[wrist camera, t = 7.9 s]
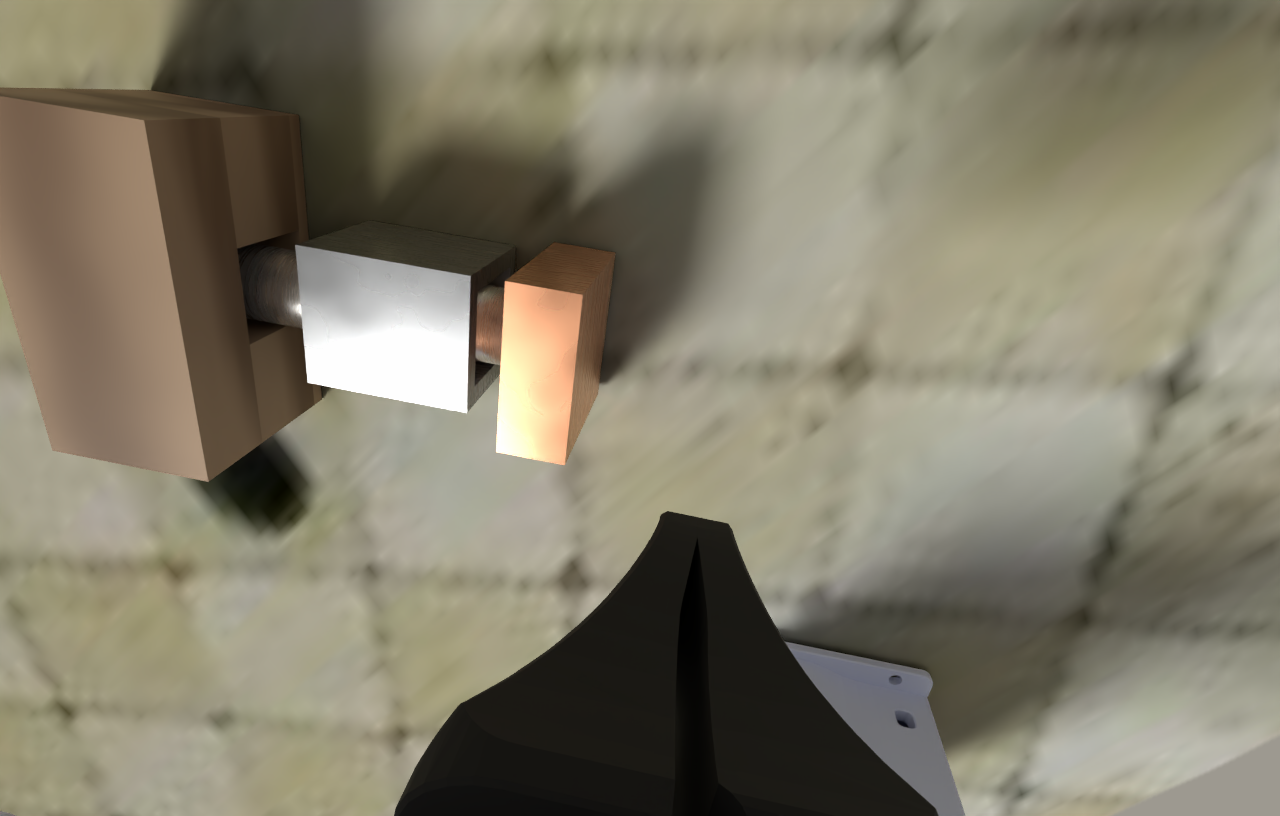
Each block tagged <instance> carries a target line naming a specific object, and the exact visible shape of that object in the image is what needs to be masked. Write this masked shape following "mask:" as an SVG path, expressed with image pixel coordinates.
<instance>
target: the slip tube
mask: <svg viewBox="0 0 1280 816" xmlns="http://www.w3.org/2000/svg"><path fill="white" fill-rule="evenodd" d="M237 251H238V259H239V266H240V274H241V282H242V289H243V297H244V305H245V312H246V318H248V319H253V320H259V321H264V322H270V323H275V324H280V325H286V326H291V327H297V328H302V329H303V326H302V315H301V304H300V293H299V282H298V271H297V260H296V251H294V250H289V249H283V248H278V247H272V246H266V245H261V244H255V243H254V244H250V245H247V246H244V247H240V248H237ZM614 261H615V253H614V252H608V251H602V250H597V249H591V248H585V247H579V246H574V245H568V244H562V243H556V242H554V243H553V244H551V245H550V246H549V247H547V248H546V249H545V250H544V251H542V252H541V253H540V254H539V255H537V256H536V257H535V258H534V259H532V260H531V261H530V262H528V263H527V264H526V265H525V266H523V267H522V268H521V269H520V270H518V271H517V272H516V273H515V274H513V275H512V276H511V277H509V278H508V279H507V280H506V281H505V288H502V287H496V286H491V285H486V286H484V287H483V288H482V289H480V290H479V291H478V297H477V327H476V358H475V361H480V362H486V363H491V364H496V365H501V368H500V387H499V407H498V426H497V446H496V452H499V453H504V454H509V455H515V456H520V457H525V458H530V459H535V460H541V461H546V462H551V463H556V464H561V465H565V463H566V461H567V459H568V457H569V455H570V453H571V451H572V448H573V446H574V444H575V442H576V440H577V438H578V435H579V433H580V431H581V429H582V427H583V425H584V423H585V420H586V418H587V416H588V414H589V412H590V410H591V408H592V405H593V403H594V401H595V399H596V397H597V395H598V389H599V381H600V373H601V365H602V357H603V349H604V341H605V333H606V325H607V317H608V309H609V301H610V293H611V285H612V277H613V269H614Z"/></svg>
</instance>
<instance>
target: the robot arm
mask: <svg viewBox="0 0 1280 816" xmlns="http://www.w3.org/2000/svg"><path fill="white" fill-rule="evenodd" d="M893 675H898V676H896V677H891V676H893ZM932 687H933V682H932V679H931V676H930V674H929V673H928V672H927V671H924V670H921V669H917V668H912V667H907V666H902V665H897V664H892V663H887V662H882V661H877V660H873V659H868V658H863V657H858V656H853V655H848V654H843V653H838V652H833V651H828V650H824V649H819V648H814V647H809V646H804V645H799V644H794V643H789V642H785V641H784V640H783V638H782V636H781V635H780V633H779V631H778V630H777V628H776V626H775V624H774V623H773V621H772V619H771V617H770V616H769V614H768V612H767V610H766V608H765V606H764V604H763V602H762V600H761V598H760V596H759V594H758V592H757V590H756V588H755V586H754V584H753V582H752V580H751V578H750V575H749V573H748V571H747V569H746V566H745V564H744V561H743V559H742V556H741V554H740V551H739V549H738V546H737V543H736V540H735V537H734V534H733V531H732V529H731V527H730V526H729V524H728V523H723V522H718V521H713V520H708V519H703V518H698V517H693V516H688V515H684V514H679V513H674V512H669V511H667V512H665V513H663V514H661V516H660V520H659V523H658V525H657V527H656V529H655V531H654V533H653V535H652V537H651V539H650V540H649V542H648V544H647V545H646V547H645V549H644V550H643V551H642V553H641V554H640V556H639V557H638V559H637V560H636V561H635V563H634V564H633V566H632V567H631V568H630V570H629V571H628V572H627V574H626V575H625V576H624V577H623V578H622V580H621V581H620V582H619V583H618V584H617V586H616V587H615V588H614V589H613V590H612V591H611V593H610V594H609V595H608V596H607V597H606V598H605V599H604V600H603V601H602V602H601V604H600V605H599V606H598V607H597V608H596V609H595V610H594V611H593V612H592V613H591V614H590V615H588V616H587V617H586V618H585V619H584V620H583V621H582V622H581V623H580V624H579V625H578V626H577V627H575V628H574V629H573V630H572V631H571V632H570V633H568V634H567V635H566V636H565V637H564V638H562V639H561V640H560V641H559V642H558V643H556V644H555V645H554V646H553V647H551V648H550V649H549V650H547V651H546V652H545V653H543V654H542V655H540V656H539V657H537V658H536V659H535V660H533V661H532V662H530V663H529V664H527V665H526V666H524V667H523V668H521V669H520V670H518V671H517V672H516V673H514V674H513V675H511V676H509V677H508V678H506V679H505V680H503V681H501V682H499V683H498V684H496V685H494V686H492V687H490V688H489V689H487V690H485V691H483V692H481V693H479V694H478V695H476V696H474V697H472V698H470V699H469V700H467V701H465V702H463V703H461V704H460V705H459V706H458V707H457V708H456V709H455V711H454V712H453V713H452V715H451V716H450V717H449V718H448V720H447V721H446V722H445V724H444V725H443V726H442V728H441V729H440V730H439V732H438V733H437V735H436V736H435V737H434V739H433V740H432V742H431V743H430V745H429V746H428V748H427V750H426V751H425V753H424V754H423V756H422V757H421V759H420V761H419V762H418V764H417V766H416V767H415V769H414V771H413V774H412V776H411V778H410V780H409V782H408V784H407V786H406V788H405V790H404V792H403V794H402V796H401V798H400V801H399V803H398V805H397V807H396V809H395V814H394V816H965V813H964V810H963V807H962V804H961V801H960V797H959V794H958V791H957V788H956V785H955V782H954V779H953V776H952V773H951V770H950V766H949V763H948V760H947V757H946V754H945V751H944V748H943V745H942V742H941V739H940V735H939V732H938V729H937V726H936V723H935V720H934V717H933V714H932V711H931V708H930V704H929V701H928V698H927V697H928V695H929V693H930V691H931V689H932ZM0 816H15V815H13V814H10V813H6V812H2V811H0Z"/></svg>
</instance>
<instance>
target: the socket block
mask: <svg viewBox="0 0 1280 816" xmlns="http://www.w3.org/2000/svg"><path fill="white" fill-rule="evenodd" d="M308 240H309V234H308V222H307V210H306V198H305V185H304V173H303V161H302V149H301V136H300V124H299V115H296V114H290V113H284V112H278V111H272V110H266V109H260V108H254V107H248V106H242V105H236V104H230V103H224V102H218V101H212V100H206V99H200V98H194V97H188V96H182V95H176V94H170V93H164V92H157V91H151V90H112V89H52V88H0V274H1V278H2V281H3V284H4V288H5V291H6V294H7V298H8V301H9V305H10V308H11V311H12V315H13V318H14V322H15V325H16V328H17V332H18V335H19V338H20V342H21V345H22V349H23V352H24V355H25V359H26V362H27V366H28V369H29V372H30V376H31V379H32V382H33V386H34V389H35V393H36V396H37V399H38V403H39V406H40V410H41V413H42V416H43V420H44V423H45V426H46V430H47V433H48V437H49V440H50V443H51V447H52V450H53V451H58V452H63V453H68V454H73V455H78V456H83V457H88V458H93V459H98V460H103V461H108V462H113V463H118V464H123V465H128V466H133V467H138V468H143V469H148V470H153V471H158V472H163V473H168V474H173V475H178V476H182V477H187V478H192V479H197V480H202V481H207V482H209V481H210V480H211V479H213V478H214V477H215V476H217V475H218V474H220V473H221V472H222V471H224V470H225V469H226V468H228V467H229V466H231V465H232V464H233V463H235V462H236V461H238V460H239V459H240V458H242V457H243V456H244V455H246V454H247V453H249V452H250V451H251V450H253V449H254V448H255V447H257V446H258V445H260V444H261V443H262V442H264V441H265V440H266V439H268V438H269V437H271V436H272V435H273V434H275V433H276V432H277V431H279V430H280V429H282V428H283V427H284V426H286V425H287V424H289V423H290V422H291V421H293V420H294V419H295V418H297V417H298V416H300V415H301V414H302V413H304V412H305V411H306V410H308V409H309V408H311V407H312V406H313V405H315V404H316V403H317V402H319V401H320V400H322V394H321V385H318V384H312V383H308V381H307V370H306V359H305V348H304V337H303V329H302V328H297V327H291V326H286V325H280V324H275V323H270V322H264V321H259V320H253V319H248V318H246V312H245V305H244V297H243V289H242V282H241V274H240V266H239V259H238V251H237V248H240V247H244V246H247V245H250V244H254V243H255V244H261V245H266V246H272V247H278V248H283V249H289V250H294V251H296V249H295V245H296V244H299V243H302V242H305V241H308Z"/></svg>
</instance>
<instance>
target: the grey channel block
mask: <svg viewBox="0 0 1280 816" xmlns="http://www.w3.org/2000/svg"><path fill="white" fill-rule="evenodd" d="M295 249H296V260H297V271H298V282H299V293H300V304H301V315H302V326H303V337H304V348H305V359H306V370H307V381H308V383H312V384H318V385H323V386H328V387H333V388H339V389H344V390H349V391H354V392H360V393H365V394H370V395H376V396H381V397H386V398H391V399H397V400H402V401H407V402H412V403H418V404H423V405H428V406H433V407H439V408H444V409H449V410H455V411H460V412H465V413H467V412H468V411H469V410H470V409H471V407H472V406H473V405H474V404H475V403H476V401H477V400H478V399H479V398H480V397H481V396H482V394H483V393H484V392H485V391H486V390H487V389H488V387H489V386H490V385H491V384H492V383H493V382H494V380H495V379H496V378H497V377H498V376H499V375H500V368H501V365H496V364H491V363H486V362H480V361H475V358H476V327H477V297H478V291H479V290H480V289H482V288H483V287H484V286H486V285H491V286H496V287H502V288H505V281H506V280H507V279H508V278H509V277H511V276H512V275H513V274H514V270H515V253H516V246H515V245H509V244H503V243H498V242H492V241H486V240H480V239H475V238H469V237H463V236H457V235H452V234H446V233H440V232H434V231H429V230H423V229H417V228H412V227H406V226H400V225H394V224H389V223H383V222H377V221H371V220H369V221H366V222H363V223H360V224H357V225H354V226H350V227H347V228H344V229H341V230H338V231H335V232H332V233H329V234H326V235H323V236H320V237H317V238H314V239H311V240H308V241H305V242H302V243H299V244H296V245H295Z"/></svg>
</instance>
